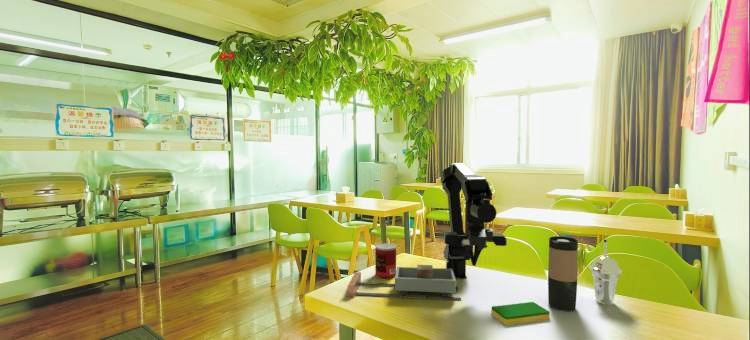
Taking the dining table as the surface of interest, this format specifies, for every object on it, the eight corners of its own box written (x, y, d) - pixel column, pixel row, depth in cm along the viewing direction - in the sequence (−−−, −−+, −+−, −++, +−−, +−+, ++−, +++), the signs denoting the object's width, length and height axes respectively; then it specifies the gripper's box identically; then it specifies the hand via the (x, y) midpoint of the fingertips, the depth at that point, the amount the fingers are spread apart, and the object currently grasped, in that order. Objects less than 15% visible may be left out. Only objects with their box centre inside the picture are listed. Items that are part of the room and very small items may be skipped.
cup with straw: (627, 303, 108) (629, 237, 107) (610, 310, 104) (612, 241, 103) (598, 294, 116) (599, 232, 115) (581, 299, 111) (582, 235, 110)
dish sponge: (490, 314, 102) (490, 306, 102) (532, 309, 105) (533, 301, 105) (505, 326, 95) (505, 317, 95) (550, 320, 98) (550, 311, 98)
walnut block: (432, 280, 119) (432, 265, 119) (432, 285, 114) (432, 269, 114) (417, 279, 120) (417, 264, 120) (416, 284, 115) (416, 269, 115)
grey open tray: (452, 284, 122) (452, 268, 122) (455, 298, 110) (455, 280, 110) (397, 282, 124) (397, 266, 124) (394, 295, 112) (394, 278, 112)
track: (457, 286, 122) (457, 276, 122) (461, 302, 109) (461, 290, 109) (355, 282, 126) (355, 272, 126) (348, 296, 114) (348, 285, 113)
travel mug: (573, 303, 109) (575, 237, 108) (579, 313, 102) (580, 243, 101) (546, 299, 111) (547, 235, 110) (549, 309, 104) (550, 241, 103)
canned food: (396, 272, 137) (396, 243, 137) (395, 279, 129) (395, 249, 129) (376, 271, 138) (376, 243, 138) (374, 278, 130) (374, 248, 130)
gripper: (446, 220, 107) (446, 272, 108) (511, 222, 105) (510, 275, 106) (443, 214, 118) (443, 261, 119) (502, 215, 116) (501, 263, 117)
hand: (473, 265), depth 115 cm, fingers closed
